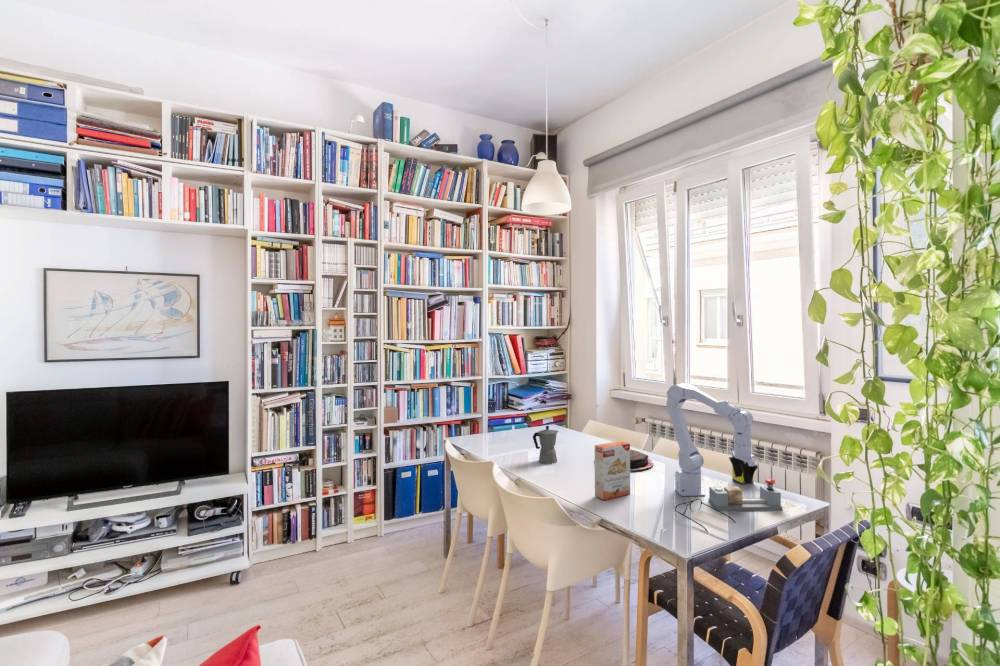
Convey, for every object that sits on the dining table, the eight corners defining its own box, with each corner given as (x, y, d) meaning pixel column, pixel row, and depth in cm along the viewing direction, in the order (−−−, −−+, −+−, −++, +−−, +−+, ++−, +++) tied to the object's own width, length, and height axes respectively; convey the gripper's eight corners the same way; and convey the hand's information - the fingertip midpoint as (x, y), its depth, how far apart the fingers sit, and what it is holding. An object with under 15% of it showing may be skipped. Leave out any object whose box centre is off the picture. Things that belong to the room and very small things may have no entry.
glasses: (700, 510, 179) (701, 497, 178) (736, 529, 166) (738, 515, 165) (673, 518, 172) (674, 505, 171) (708, 539, 159) (710, 525, 158)
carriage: (728, 503, 179) (728, 490, 179) (724, 499, 183) (723, 486, 183) (742, 503, 179) (742, 490, 179) (737, 499, 183) (737, 486, 183)
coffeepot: (552, 457, 250) (552, 422, 249) (564, 461, 242) (563, 425, 241) (528, 462, 242) (527, 426, 242) (539, 466, 234) (538, 430, 233)
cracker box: (604, 501, 188) (603, 448, 188) (594, 496, 194) (593, 444, 193) (631, 494, 195) (630, 443, 194) (621, 490, 200) (620, 439, 200)
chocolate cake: (615, 452, 257) (615, 440, 256) (664, 463, 236) (664, 450, 236) (583, 464, 238) (583, 451, 237) (633, 477, 217) (633, 462, 217)
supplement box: (742, 485, 203) (742, 459, 202) (731, 480, 209) (731, 455, 208) (754, 483, 204) (753, 457, 204) (743, 479, 210) (743, 454, 210)
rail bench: (718, 510, 177) (718, 493, 177) (708, 501, 186) (708, 484, 186) (782, 510, 176) (782, 492, 176) (769, 500, 185) (769, 484, 185)
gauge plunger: (768, 492, 179) (767, 481, 179) (763, 489, 182) (763, 478, 182) (776, 491, 179) (776, 481, 179) (772, 488, 182) (772, 478, 182)
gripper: (763, 448, 173) (763, 486, 173) (744, 438, 187) (745, 473, 188) (743, 448, 173) (743, 486, 173) (725, 439, 187) (726, 473, 188)
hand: (743, 479), depth 180 cm, fingers open, 7 cm apart
